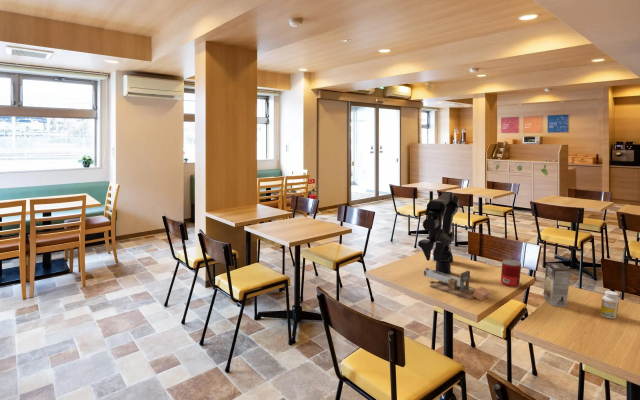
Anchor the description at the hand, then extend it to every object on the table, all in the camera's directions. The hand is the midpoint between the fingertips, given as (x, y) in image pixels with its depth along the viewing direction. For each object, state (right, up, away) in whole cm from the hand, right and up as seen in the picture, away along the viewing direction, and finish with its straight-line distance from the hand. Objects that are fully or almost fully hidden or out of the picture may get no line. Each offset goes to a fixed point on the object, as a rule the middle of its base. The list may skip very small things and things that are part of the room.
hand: (433, 258), depth 187 cm
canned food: (+36, -12, 0) cm, 38 cm away
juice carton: (+13, -6, +35) cm, 38 cm away
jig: (+8, -13, -7) cm, 17 cm away
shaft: (+4, -10, -3) cm, 11 cm away
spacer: (+16, -11, -17) cm, 26 cm away
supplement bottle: (+59, -18, -33) cm, 70 cm away
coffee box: (+46, -16, -20) cm, 52 cm away
